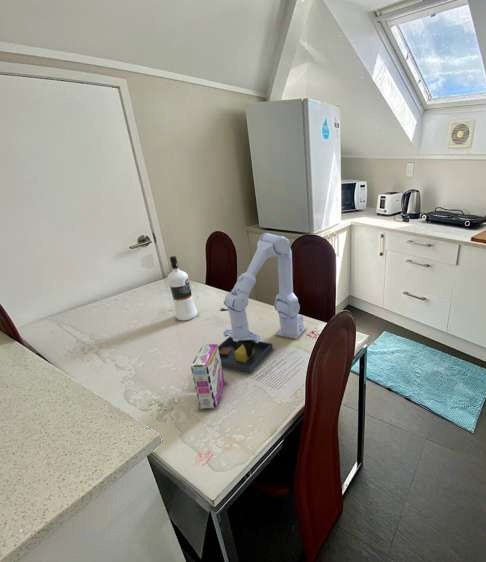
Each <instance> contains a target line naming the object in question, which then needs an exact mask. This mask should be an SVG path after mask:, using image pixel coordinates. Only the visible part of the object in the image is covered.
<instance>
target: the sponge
mask: <svg viewBox="0 0 486 562" xmlns="http://www.w3.org/2000/svg"><path fill="white" fill-rule="evenodd" d="M253 354H254V349H253V352H252V355H253ZM252 355H251V356H252ZM251 356H250V357H251ZM235 357H236V361H240V362H244V363H245V362H246V361H247V360H248V359H249V358H250V357H248V356H247V353H246V349H245V347H244V346H243V344H242V345H241V346H240V347H239V348H238V349H237V350H236V351H235Z"/></svg>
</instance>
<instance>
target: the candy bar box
mask: <svg viewBox="0 0 486 562" xmlns="http://www.w3.org/2000/svg"><path fill="white" fill-rule="evenodd" d="M218 346H219V344H218V343H213V344H212V343H211V344H210V343H209V344H202V346H201V348H200V349H199V351H198V353H197V354H196V357H195V358H194V359H193V362H192V363H191V365H190V369H191V374H192V379H193V382H194V387H195V391H196V395H197V399H198V404H199V408H200V409H199V410H213V409H214V410H215V409H217V407H218V404H219V401H220V399H221V395H222V392H223V390H224V387H225V385H226V380H225V376H224V370H223V367H222V365H221V359H220V354H219V348H218Z"/></svg>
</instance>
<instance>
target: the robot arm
mask: <svg viewBox="0 0 486 562" xmlns="http://www.w3.org/2000/svg"><path fill="white" fill-rule="evenodd" d="M290 244H291V242H290V239H288V238H287V237H286V236H283V235H281V236H280V235H277V234H273V233H270V232H265V233H262V234H261V235H260V237H259V240H257V242H256V251H255V252H254V254H253V257H252V259H251V261H250V263H249V266H248V267H247V270H246V271H245V272H242V273H241V274H240V275H239V276H238V277H237V281H236V282H235V284H234V286H233V288H232V289H231V291H230V292H228V293H227V294H226V295H225V297H224V301H223V305H224V306H225V307H227V310H228V314H229V319H230V320H229V321H230V326H231V329H227V328H226V329H225V330H223V332H222V333H223V337H225V338H228V337H230V339H229V340H228V342H229V343H230V344H231V345H232V346H233V348H234V349H235V351H236V350H237V349H238V348H239V347H240V346H241V340H246V341H245V342H244V343H243V346H244V347H245V349H246V353H247V356H248V357H250V356H251V355H252V352H253V346H254V343H258V342H259V341H261V335H258V334H256V333H254V332H252V331H250V328H249V320H248V315H247V309H246V308H247V307H248V306H249V298H250V296H249V295H250V294H251V292H252V290H253V288H254V286H255V284H256V283H257V279H256V276H257V275H258V273H259V271H260V270H261V268H262V267H263V265H264V264H265V262H266V260H267V259H270V258H273V257H277V272H278V273H277V275H278V293H277V294H276V295H275V301H274V304H273V308H274V310H275V311H277V314H278V318H279V319H278V320H279V327H280V330H279V331H278V333H276V335H277V336H281V337H287V338H292V339H298V338H299V337H300V336H301V335H302V334H303V332H304V331H305V326H304V317H303V315H301V314H299V313H300V310H301V305H300V303H299V298H298V297H297V296H296V294H295V293H294V285H293V284H294V282H293V279H294V278H293V251H292V248H291V246H290Z"/></svg>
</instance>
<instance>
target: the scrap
mask: <svg viewBox="0 0 486 562" xmlns="http://www.w3.org/2000/svg"><path fill="white" fill-rule="evenodd" d="M231 352H232V348H224V347H222V349H221V350H220V351H219V354H220V356H225V357H228V356H229V354H230V353H231Z"/></svg>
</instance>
